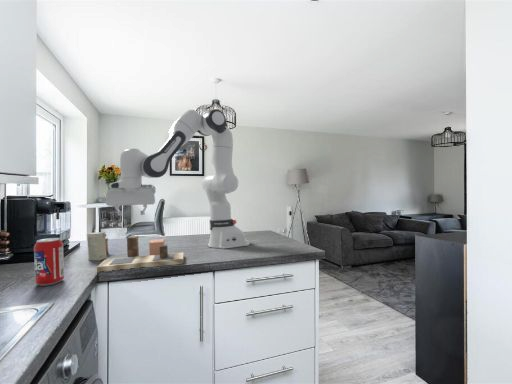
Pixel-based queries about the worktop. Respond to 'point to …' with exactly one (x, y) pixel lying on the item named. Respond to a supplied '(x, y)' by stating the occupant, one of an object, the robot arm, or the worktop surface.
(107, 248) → the lighter
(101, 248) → the skincare box
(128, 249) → the peg
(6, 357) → the worktop surface
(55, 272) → the soda can
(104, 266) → the board
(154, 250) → the block
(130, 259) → the pad
